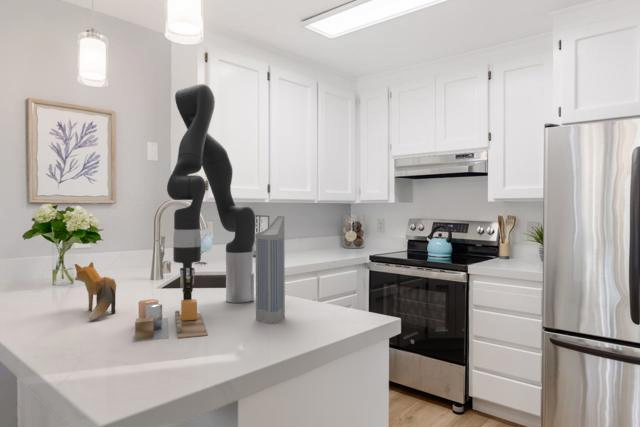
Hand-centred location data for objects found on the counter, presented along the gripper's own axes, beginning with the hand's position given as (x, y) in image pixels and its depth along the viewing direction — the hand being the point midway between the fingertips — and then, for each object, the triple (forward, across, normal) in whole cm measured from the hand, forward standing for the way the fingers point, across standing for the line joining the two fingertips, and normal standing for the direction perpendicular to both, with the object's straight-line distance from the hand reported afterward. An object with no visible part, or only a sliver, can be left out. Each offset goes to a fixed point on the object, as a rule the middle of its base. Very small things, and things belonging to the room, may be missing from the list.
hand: (187, 305), depth 125 cm
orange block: (+3, -4, 0) cm, 5 cm away
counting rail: (+5, -9, 0) cm, 10 cm away
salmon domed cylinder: (+3, -3, +10) cm, 11 cm away
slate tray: (+5, -9, +9) cm, 14 cm away
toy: (+5, +18, +26) cm, 33 cm away
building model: (+5, -6, -23) cm, 24 cm away
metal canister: (+3, -9, +9) cm, 13 cm away
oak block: (+3, -16, +11) cm, 19 cm away
